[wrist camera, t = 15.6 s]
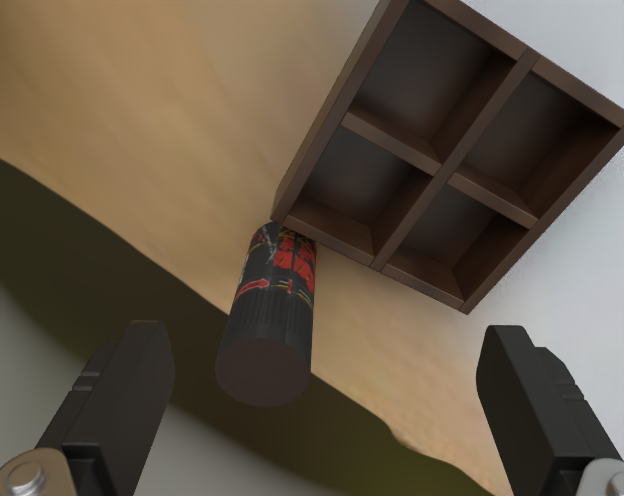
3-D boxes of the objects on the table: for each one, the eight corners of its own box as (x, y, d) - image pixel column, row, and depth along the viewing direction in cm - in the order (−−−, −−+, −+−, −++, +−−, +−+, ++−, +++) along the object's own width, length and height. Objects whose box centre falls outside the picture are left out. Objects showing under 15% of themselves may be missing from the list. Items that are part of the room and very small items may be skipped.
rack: (276, 189, 39) (269, 219, 34) (397, -33, 30) (409, -34, 26) (452, 278, 43) (467, 315, 38) (602, 102, 34) (644, 122, 30)
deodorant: (316, 277, 43) (310, 408, 30) (252, 277, 43) (219, 406, 30) (316, 220, 40) (309, 338, 27) (247, 220, 40) (208, 337, 27)
